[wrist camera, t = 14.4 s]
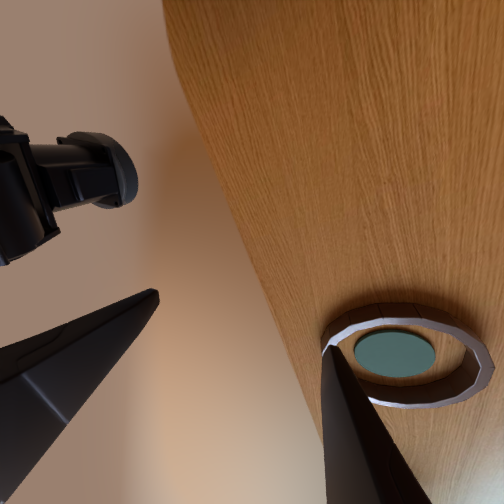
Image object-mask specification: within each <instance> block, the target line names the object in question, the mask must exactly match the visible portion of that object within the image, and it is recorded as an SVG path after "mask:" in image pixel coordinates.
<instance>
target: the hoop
mask: <svg viewBox="0 0 504 504" xmlns="http://www.w3.org/2000/svg"><path fill="white" fill-rule="evenodd" d="M384 324H392V325H419V326H422V327H426V328H429V329H433V330H437V331H440V332H444V333H447V334H450V335H452V336H453V337H455V338H456V339H458V340H459V341H461V342H462V343H464V344H465V346H466V349H467V350H466V353H465V356H464V360H463V363H462V366H460V367H459V368H458V369H457V370H455V371H454V372H453V373H452V374H450V375H449V376H448V377H447V378H445V379H442V380H439V381H436V382H433V383H430V384H427V385H424V386H412V387H392V386H383V385H376V384H373V383H370V382H367V381H364V380H361V379H358V378H357V379H358V381H359V383H360V384H361V386H362V388H363V389H364V391H365V393H366V395H367V396H368V398H369V400H370V401H371V402H372V403H375V404H379V405H384V406H391V407H398V408H405V409H417V408H436V407H437V408H439V407H443V406H447V405H450V404H454V403H458V402H462V401H465V400H467V399H469V398H470V397H472V396H473V395H475V394H476V393H478V392H480V391H481V390H483V389H484V388H486V386H488V383H489V381H490V379H491V376H492V374H493V372H494V370H495V366H494V363H493V361H492V359H491V356H490V354H489V352H488V349H487V347H486V346H485V344H484V343H483V342H482V341H481V340H480V339H479V337H478V336H477V335H476V334H475V333H474V332H473V331H472V329H471V328H469V327H468V326H466V325H465V324H463V323H462V322H460V321H459V320H458V319H456V318H455V317H453V316H452V315H450V314H449V313H447V312H445V311H441V310H437V309H433V308H430V307H426V306H422V305H418V304H414V303H378V304H373V305H369V306H365V307H362V308H358V309H355V310H351V311H348V312H346V313H345V314H343V315H342V316H340V317H339V318H338V319H336V320H335V321H333V322H332V323H330V324H329V325H328V327H327V329H326V331H325V333H324V335H323V337H322V339H321V352H322V357H323V354H324V352H325V350H326V349H327V347H328V345H330V344H331V345H334V346H336V345H337V344H338V342H339V341H341V340H343V339H344V338H346V337H348V336H349V335H351V334H352V333H354V332H356V331H358V330H362V329H367V328H371V327H376V326H380V325H384Z"/></svg>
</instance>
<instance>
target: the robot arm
mask: <svg viewBox="0 0 504 504" xmlns="http://www.w3.org/2000/svg"><path fill="white" fill-rule="evenodd" d="M56 140H57V144H58V145H29V142H30V140H29V137H28V134H27V133H23V132H20V131H17V130H14V128H13V126H11V125H10V123H8V121H7V120H6V119H5V118H4V117H3V116H1V115H0V266H5V265H9V264H10V262H11V261H13V260H16V259H19V258H21V257H23V256H24V255H26V254H28V253H30V252H32V251H34V250H35V249H36V248H37V247H39V246H40V245H42V244H44V243H45V242H47V241H49V240H50V239H52V238H53V237H55V236H57V235H58V234H60V233H61V231H60V228H59V227H57V223H56V220H55V218H54V214H53V212H57V211H61V210H65V209H69V208H73V207H77V206H81V205H85V204H89V203H93V202H96V203H100V204H105V205H109V206H113V207H117V208H118V207H121V206H122V205H123V203H122V198H121V194H120V189H119V185H118V180H117V175H116V171H115V166H114V162H113V157H112V153H111V149H110V148H109V146H108V145H104V144H99V143H93V142H88V141H82V140H77V139H71V138H66V137H57V139H56ZM105 150H106V151H105ZM159 302H160V299H159V292H158V290H155V289H152V288H150V289H147V290H145V291H142V292H140V293H137V294H135V295H132V296H130V297H128V298H125V299H123V300H120V301H118V302H116V303H113V304H111V305H109V306H106V307H104V308H101V309H99V310H96V311H94V312H92V313H89V314H87V315H84V316H82V317H80V318H77V319H75V320H72V321H70V322H68V323H65V324H63V325H60V326H58V327H55V328H53V329H51V330H48V331H45V332H43V333H40V334H38V335H35V336H32V337H30V338H27V339H24V340H22V341H19V342H16V343H13V344H10V345H8V346H5V347H2V348H0V504H4V503H5V502H6V501H7V500H8V499H9V497H10V496H11V495H12V494H13V493H14V491H15V490H16V489H17V487H18V486H19V485H20V484H21V483H22V481H23V480H24V479H25V477H26V476H27V475H28V474H29V472H30V471H31V470H32V469H33V467H34V466H35V465H36V464H37V462H38V461H39V460H40V459H41V457H42V456H43V455H44V454H45V452H46V451H47V450H48V448H49V447H50V446H51V445H52V444H53V442H54V441H55V440H56V439H57V437H58V436H59V435H60V433H61V432H62V431H63V430H64V428H65V427H66V426H67V424H68V423H69V422H70V421H71V419H72V418H73V417H74V415H75V414H76V413H77V412H78V411H79V409H80V408H81V407H82V406H83V404H84V403H85V402H86V400H87V399H88V398H89V397H90V395H91V394H92V393H93V392H94V390H95V389H96V388H97V387H98V385H99V384H100V383H101V382H102V380H103V379H104V378H105V377H106V375H107V374H108V373H109V371H110V370H111V369H112V368H113V366H114V365H115V364H116V363H117V362H118V360H119V359H120V358H121V356H122V355H123V354H124V353H125V351H126V350H127V349H128V348H129V346H130V345H131V344H132V343H133V341H134V340H135V339H136V338H137V336H138V335H139V334H140V332H141V331H142V330H143V328H144V327H145V325H146V324H147V322H148V321H149V319H150V318H151V316H152V314H153V313H154V311H155V310H156V308H157V307H158V305H159ZM321 410H322V427H323V444H324V462H325V478H326V496H327V504H432V503H431V501H430V500H429V498H428V496H427V495H426V493H425V492H424V490H423V489H422V487H421V486H420V484H419V482H418V481H417V479H416V478H415V476H414V474H413V473H412V471H411V469H410V468H409V466H408V464H407V463H406V461H405V460H404V458H403V456H402V454H401V453H400V451H399V449H398V448H397V446H396V444H395V443H394V441H393V439H392V437H391V436H390V434H389V432H388V431H387V429H386V427H385V425H384V424H383V422H382V420H381V419H380V417H379V415H378V413H377V412H376V410H375V408H374V407H373V405H372V403H371V401H370V400H369V398H368V396H367V395H366V393H365V391H364V389H363V388H362V386H361V384H360V383H359V381H358V379H357V377H356V376H355V374H354V372H353V371H352V369H351V367H350V365H349V364H348V362H347V360H346V359H345V357H344V355H343V353H342V352H341V350H340V348H339V347H337V346H334V345H331V344H330V345H328V347H327V349H326V350H325V352H324V354H323V357H322V374H321Z"/></svg>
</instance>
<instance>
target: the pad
mask: <svg viewBox="0 0 504 504" xmlns="http://www.w3.org/2000/svg"><path fill="white" fill-rule="evenodd" d="M354 354H355V358H356V360H357V361H358V363H359V364H360V365H361V366H362V367H364V368H365V369H367V370H368V371H371V372H373V373H375V374H378V375H382V376H388V377H409V376H414V375H417V374H420V373H422V372H424V371H426V370H428V369H429V368H430V367H431V366H432V365H433V363H434V361H435V352H434V349H433V348H432V346H431V345H430V343H429V342H428V341H426V340H425V339H424V338H422V337H420V336H419V335H416V334H414V333H411V332H407V331H402V330H380V331H375V332H372V333H369V334H367V335H365V336H363V337H362V338H360V339H359V340H358V342H357V343H356V345H355V347H354Z"/></svg>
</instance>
